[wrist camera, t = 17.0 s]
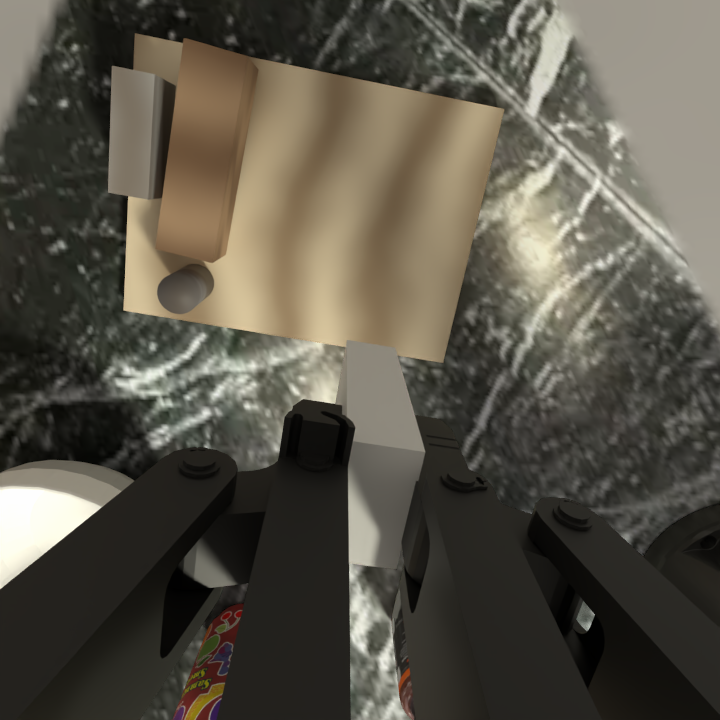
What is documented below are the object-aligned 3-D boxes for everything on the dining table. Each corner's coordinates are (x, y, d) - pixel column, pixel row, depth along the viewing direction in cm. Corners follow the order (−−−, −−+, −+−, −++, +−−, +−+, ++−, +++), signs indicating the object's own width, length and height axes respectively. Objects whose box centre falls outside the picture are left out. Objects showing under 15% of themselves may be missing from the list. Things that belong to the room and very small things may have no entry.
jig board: (499, 111, 36) (525, 99, 31) (440, 357, 42) (453, 383, 37) (141, 38, 35) (104, 12, 29) (129, 306, 40) (96, 326, 35)
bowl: (-57, 454, 44) (-151, 518, 36) (163, 404, 43) (120, 458, 35) (39, 629, 50) (-23, 719, 42) (234, 589, 49) (211, 672, 41)
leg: (225, 254, 38) (212, 263, 34) (174, 241, 37) (155, 248, 33) (258, 69, 34) (247, 56, 30) (202, 53, 34) (183, 37, 30)
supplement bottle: (378, 624, 50) (387, 744, 40) (410, 578, 49) (428, 690, 38) (432, 646, 52) (455, 769, 41) (465, 602, 50) (498, 718, 39)
